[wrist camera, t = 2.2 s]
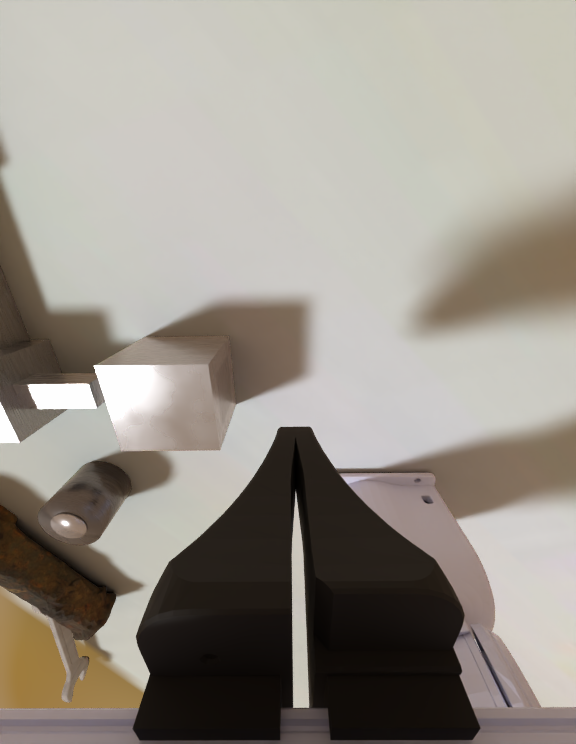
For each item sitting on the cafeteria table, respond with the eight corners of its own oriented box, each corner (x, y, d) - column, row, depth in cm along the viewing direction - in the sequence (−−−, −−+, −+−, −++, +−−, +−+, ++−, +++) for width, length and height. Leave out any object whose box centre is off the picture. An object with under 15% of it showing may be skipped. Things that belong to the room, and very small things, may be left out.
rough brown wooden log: (125, 590, 30) (98, 647, 25) (96, 600, 30) (65, 656, 26) (-19, 467, 23) (-89, 516, 19) (-53, 482, 24) (-128, 533, 19)
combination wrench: (22, 607, 25) (60, 708, 33) (36, 608, 25) (71, 708, 33) (54, 565, 29) (81, 665, 36) (66, 566, 29) (91, 665, 36)
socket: (124, 460, 22) (89, 504, 18) (137, 500, 24) (107, 547, 20) (70, 461, 22) (25, 504, 18) (87, 500, 24) (48, 547, 20)
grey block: (229, 335, 18) (208, 364, 13) (236, 403, 20) (220, 450, 15) (145, 336, 18) (94, 365, 13) (160, 404, 20) (121, 451, 15)
